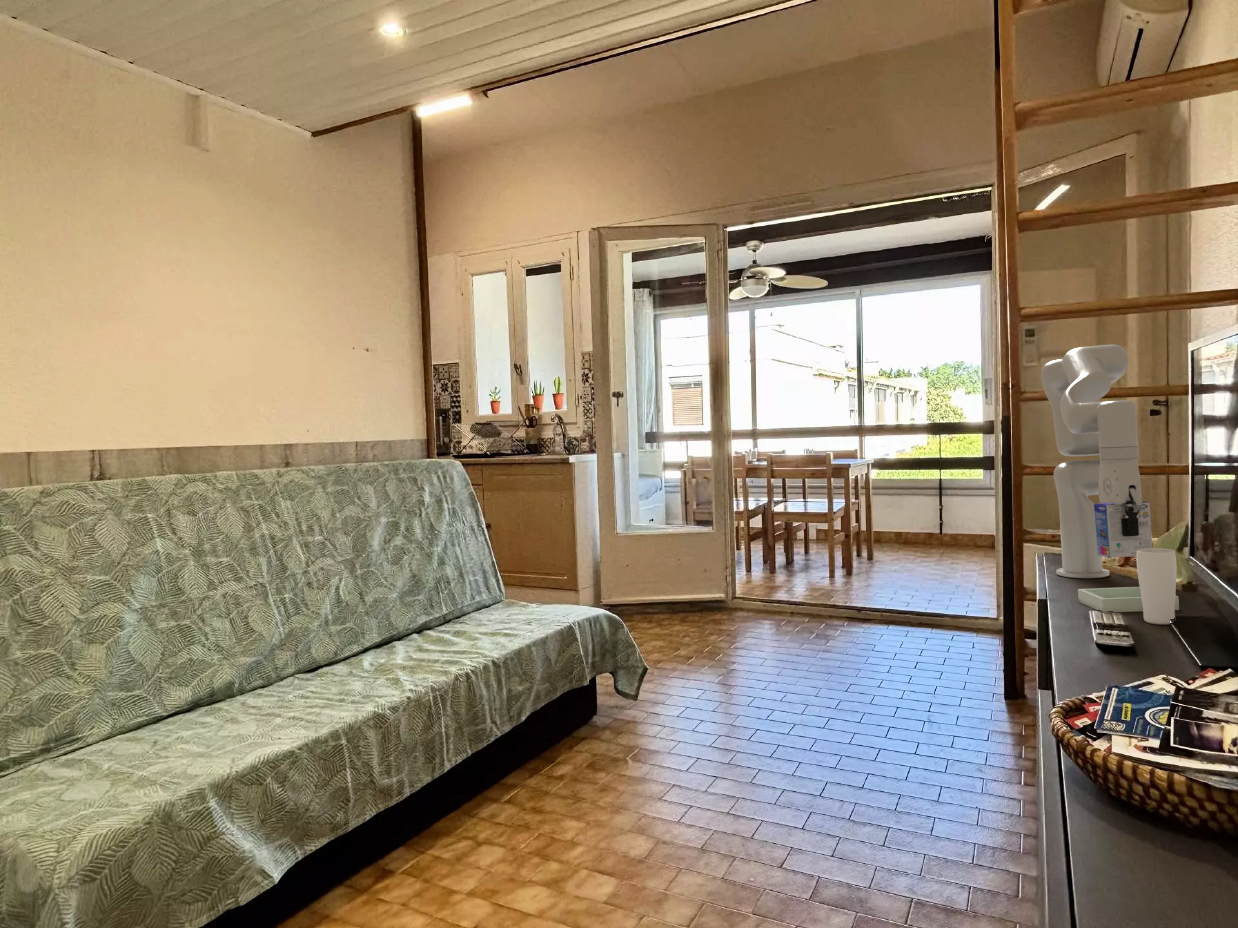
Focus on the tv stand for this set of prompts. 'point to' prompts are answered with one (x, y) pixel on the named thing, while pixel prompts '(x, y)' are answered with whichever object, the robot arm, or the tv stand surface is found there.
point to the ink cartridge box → (1120, 531)
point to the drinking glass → (1157, 583)
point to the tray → (1114, 599)
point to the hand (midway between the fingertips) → (1123, 533)
